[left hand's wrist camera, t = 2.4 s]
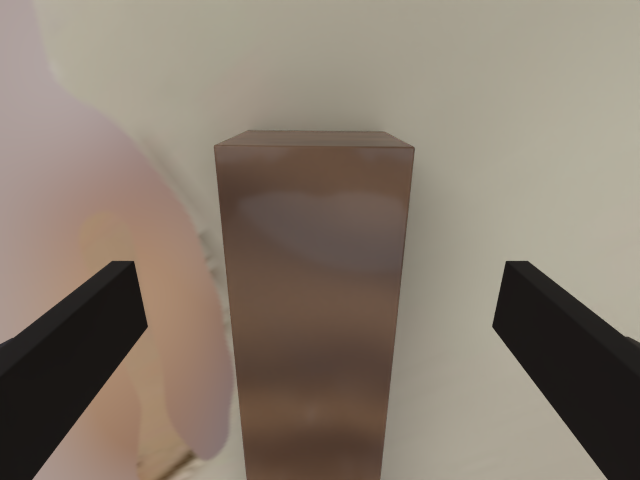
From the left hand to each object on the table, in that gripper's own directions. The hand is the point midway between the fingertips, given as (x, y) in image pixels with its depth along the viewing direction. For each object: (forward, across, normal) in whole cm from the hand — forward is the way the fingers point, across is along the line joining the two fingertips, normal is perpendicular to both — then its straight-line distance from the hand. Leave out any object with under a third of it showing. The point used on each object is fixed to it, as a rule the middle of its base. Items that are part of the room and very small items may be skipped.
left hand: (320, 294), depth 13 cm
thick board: (+12, 0, -23) cm, 26 cm away
